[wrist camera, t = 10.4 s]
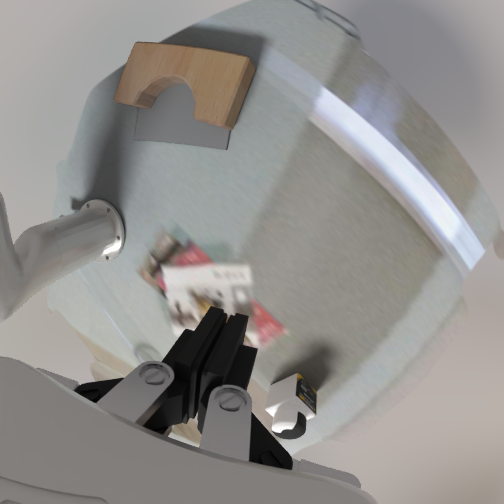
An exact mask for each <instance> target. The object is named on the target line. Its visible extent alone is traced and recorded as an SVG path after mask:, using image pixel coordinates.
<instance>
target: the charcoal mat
mask: <svg viewBox="0 0 504 504" xmlns="http://www.w3.org/2000/svg"><path fill="white" fill-rule="evenodd" d="M194 105H195V101H194V97H193V94H192V90H191V89H190V87H189V86H188V85H187V84H176V85H173V86H171V87H169V88H167V89H165V90H164V91H163V92H162V93H161V94H160V95H159V96H157V97H156V99H155V101H154V103H153V105H152V107H151V108H150V109H145V108H140V107H139V111H138V116H137V122H136V128H135V134H134V140H143V141H155V142H166V143H176V144H185V145H194V146H202V147H209V148H216V149H223V150H227V147H228V141H229V136H230V131H231V130H227V129H224V128H220V127H217V126H214V125H210V124H206V123H204V122H201V121H198V120H196V119H194V117H193V111H194Z"/></svg>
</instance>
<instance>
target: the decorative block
mask: <svg viewBox="0 0 504 504" xmlns="http://www.w3.org/2000/svg"><path fill="white" fill-rule="evenodd" d="M255 71H256V69H255V67H254V65H253V63H252V62H251V60H250V58H249V57H248V56H245V55H240V54H235V53H230V52H225V51H219V50H214V49H208V48H201V47H194V46H186V45H177V44H167V43H153V42H136V43H135V44H134V47H133V49H132V51H131V54H130V56H129V58H128V61H127V63H126V66H125V69H124V71H123V74H122V76H121V79H120V82H119V85H118V87H117V90H116V93H115V96H114V99H113V100H114V102H117V103H121V104H126V105H130V106H135V107H140V108H145V109H150V108H151V107H152V105H153V103H154V101H155V99H156V97H157V96H159V95H160V94H161V93H162V92H163V91H164V90H165V89H167V88H169V87H171V86H173V85H176V84H187V85H188V86H189V87H190V89H191V90H192V94H193V97H194V101H195V105H194V111H193V117H194V119H196V120H198V121H201V122H204V123H206V124H210V125H214V126H217V127H220V128H224V129H227V130H232V129H233V128H234V125H235V123H236V120H237V117H238V114H239V112H240V109H241V106H242V104H243V101H244V98H245V96H246V93H247V91H248V88H249V86H250V83H251V81H252V78H253V76H254V73H255Z"/></svg>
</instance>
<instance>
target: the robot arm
mask: <svg viewBox="0 0 504 504" xmlns="http://www.w3.org/2000/svg"><path fill="white" fill-rule="evenodd" d="M124 236H125V235H124V227H123V223H122V220H121V217H120V215H119V214H118V212H117V210H116V209H115V208H114V207H113V206H112V205H111V204H110V203H108V202H107V201H105V200H101V199H95V200H91V201H88V202H87V203H85V204H84V205H83V206H82V207H81V209H80V211H79V212H78V213H74V214H71V215H68V216H64V215H61V216H60V217H59V218H58V219H55V220H52V221H48V222H45V223H43V224H40V225H36V226H33V227H30V228H29V229H27V230H26V231H24V232H23V233H22V234H21V235H20V237H19V238H18V239H17V240H16V242H15V244H14V245H13V243H12V238H11V234H10V228H9V223H8V217H7V212H6V207H5V202H4V198H3V196H2V194H1V193H0V322H2V321H4V320H6V319H8V318H9V317H10V316H12V315H13V314H14V313H15V312H16V311H17V310H18V309H19V308H20V307H21V306H22V305H23V304H24V303H25V302H26V301H28V300H29V299H30V298H31V297H32V296H34V295H35V294H36V293H37V292H39V291H41V290H42V289H44V288H45V287H47V286H49V285H50V284H52V283H54V282H56V281H57V280H59V279H61V278H63V277H65V276H67V275H68V274H70V273H72V272H74V271H76V270H77V269H79V268H81V267H83V266H85V265H87V264H88V263H90V262H92V261H94V260H96V261H98V262H109V261H111V260H113V259H115V258H116V257H117V256H118V255H119V254H120V252H121V250H122V248H123V244H124ZM248 317H249V316H247V315H243V314H239V313H236V314H235V316H233V315H230V317H229V319H228V321H227V314H226V313H224V310H223V309H220V308H216V307H213V306H211V307H210V308H209V310H208V311H207V313H206V314H205V316H204V317H203V319H202V320H201V322H200V323H199V325H198V326H197V328H196V329H195V331H192V330H189V329H185V330H184V331H183V333H182V334H181V336H180V337H179V338H178V340H177V341H176V343H175V344H174V345H173V347H172V348H171V349H170V351H169V352H168V354H167V355H166V356H165V358H164V359H163V361H162V362H159V361H147V362H144V363H142V364H140V365H139V366H138V367H137V368H135V369H134V370H133V371H132V372H131V373H130V374H129V375H127V376H126V377H125V378H118V379H112V380H105V381H98V382H90V383H85V384H81V385H79V384H78V382H77V381H74V380H71V379H68V378H65V377H63V376H60V375H57V374H55V373H52V372H49V371H47V370H44V369H40V368H34V367H33V366H31V365H29V364H26V363H24V362H22V361H19V360H16V359H12V358H9V357H1V356H0V504H378V503H377V501H376V500H375V499H374V498H373V497H372V496H371V495H370V494H368V493H367V492H365V491H363V490H362V489H361V484H360V482H359V480H358V479H357V478H356V477H355V476H354V475H352V474H350V473H347V472H343V471H339V470H335V469H332V468H328V467H325V466H322V465H318V464H315V463H312V462H309V461H306V460H303V459H301V461H298V460H295V459H292V457H291V456H290V454H289V453H288V452H287V451H286V450H285V449H284V448H283V447H282V445H281V444H280V443H279V442H278V441H277V440H276V439H275V438H274V437H273V436H272V435H271V433H270V432H269V431H268V430H267V429H266V428H265V427H264V426H263V424H262V423H261V422H260V421H259V420H258V419H257V418H256V416H255V415H254V414H253V413H252V412H251V411H252V400H251V397H250V395H249V393H248V392H247V391H246V390H247V387H248V384H249V380H250V377H251V373H252V370H253V366H254V362H255V358H256V354H257V350H258V349H257V348H253V347H249V346H245V345H243V342H244V337H245V332H246V327H247V322H248ZM226 321H227V323H226ZM197 412H198V427H197V428H198V430H199V431H200V433H201V434H202V436H201V441H200V446H199V448H198V447H195V446H192V445H189V444H186V443H183V442H180V441H177V440H175V439H172V438H169V437H168V436H169V434H170V433H171V432H172V430H173V428H174V425H176V424H180V423H185V424H187V422H188V420H189V418H192V419H194V418H195V416H196V414H197Z"/></svg>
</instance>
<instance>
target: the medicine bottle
mask: <svg viewBox="0 0 504 504" xmlns="http://www.w3.org/2000/svg"><path fill="white" fill-rule="evenodd" d="M316 398H317V392H316V391H315V390H314V389H313V388H312V387H311V386H310V385H309V384H308V382H307V381H306V380H305V379H304V378H303V377H302V376H301V375H300V374H299V373H296V374H294V375H292V376H289V377H287V378H285V379H283V380H281V381H279V382H277V383H274V384H272V385H270V388H269V393H268V398H267V403H266V407H265V410H266V411H267V412H269V413H270V414H271V415H272V416H273V417H274V419H273V424H272V432H273V433H274V434H275V435H276V436H278V437H280V438H282V439H296V438H299V437H301V436H302V435H303V434H304V433H305V431H306V420H308V419H310V418H313V417H315V416H316Z"/></svg>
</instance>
